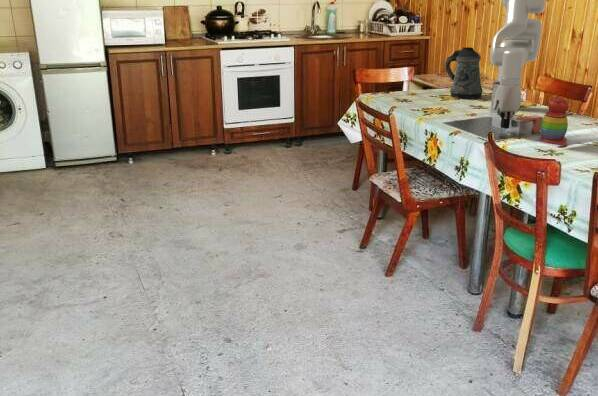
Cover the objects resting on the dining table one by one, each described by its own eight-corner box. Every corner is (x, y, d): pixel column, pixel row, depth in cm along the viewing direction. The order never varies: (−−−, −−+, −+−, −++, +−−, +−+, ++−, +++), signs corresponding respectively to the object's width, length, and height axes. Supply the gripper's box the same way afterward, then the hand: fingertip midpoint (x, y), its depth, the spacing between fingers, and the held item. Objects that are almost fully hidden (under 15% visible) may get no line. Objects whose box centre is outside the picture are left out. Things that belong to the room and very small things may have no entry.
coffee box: (504, 115, 266) (508, 79, 261) (514, 117, 261) (519, 82, 255) (489, 117, 262) (493, 81, 257) (499, 120, 257) (503, 84, 251)
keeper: (533, 130, 237) (535, 115, 235) (540, 132, 234) (542, 116, 232) (514, 132, 233) (516, 117, 231) (520, 134, 230) (522, 119, 228)
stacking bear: (566, 148, 216) (574, 100, 209) (537, 145, 220) (544, 98, 213) (567, 141, 225) (574, 95, 219) (539, 138, 229) (545, 93, 222)
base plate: (489, 118, 260) (489, 116, 260) (543, 135, 233) (543, 132, 233) (441, 124, 250) (441, 122, 250) (492, 143, 223) (492, 140, 223)
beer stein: (485, 99, 299) (491, 49, 290) (448, 99, 299) (452, 50, 290) (477, 93, 314) (481, 45, 305) (441, 93, 315) (444, 46, 305)
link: (491, 124, 245) (492, 113, 244) (504, 123, 247) (505, 112, 246) (518, 135, 230) (519, 122, 228) (531, 133, 232) (533, 121, 230)
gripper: (518, 79, 234) (512, 124, 240) (488, 82, 228) (483, 127, 235) (531, 82, 227) (525, 128, 234) (501, 85, 222) (496, 131, 228)
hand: (504, 127), depth 234 cm, fingers closed
